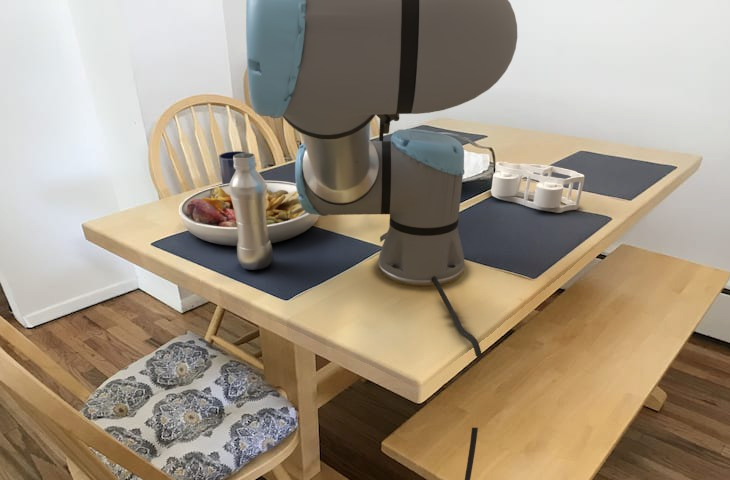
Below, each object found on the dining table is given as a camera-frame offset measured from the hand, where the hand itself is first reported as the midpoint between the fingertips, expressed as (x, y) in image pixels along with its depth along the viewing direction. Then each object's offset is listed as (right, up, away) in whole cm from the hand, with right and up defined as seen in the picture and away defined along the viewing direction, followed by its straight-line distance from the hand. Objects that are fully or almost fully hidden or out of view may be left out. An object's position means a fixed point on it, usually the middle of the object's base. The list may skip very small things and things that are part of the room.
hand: (348, 143), depth 115 cm
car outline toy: (+42, -10, +12) cm, 45 cm away
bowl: (-21, -16, +4) cm, 27 cm away
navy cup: (-27, -4, +23) cm, 36 cm away
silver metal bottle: (-17, -28, -14) cm, 36 cm away
